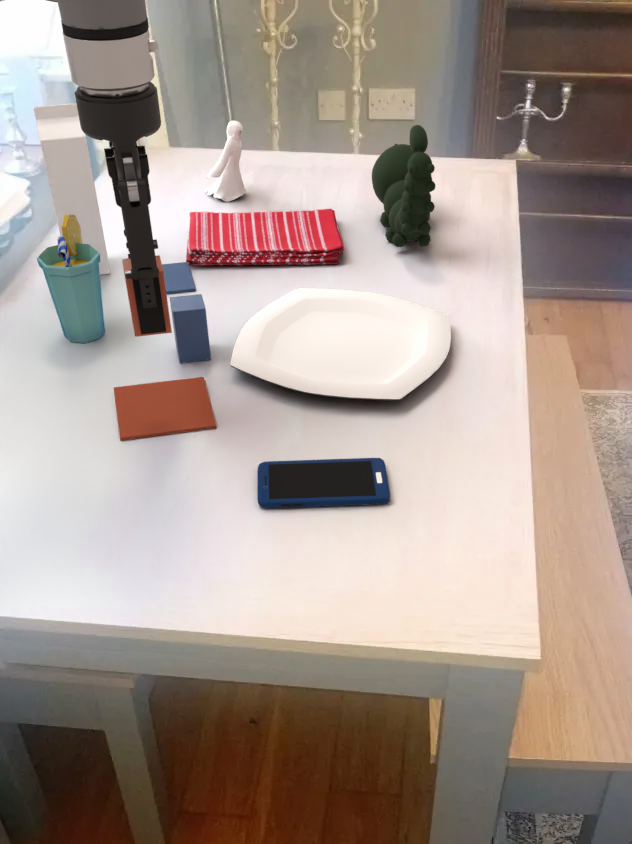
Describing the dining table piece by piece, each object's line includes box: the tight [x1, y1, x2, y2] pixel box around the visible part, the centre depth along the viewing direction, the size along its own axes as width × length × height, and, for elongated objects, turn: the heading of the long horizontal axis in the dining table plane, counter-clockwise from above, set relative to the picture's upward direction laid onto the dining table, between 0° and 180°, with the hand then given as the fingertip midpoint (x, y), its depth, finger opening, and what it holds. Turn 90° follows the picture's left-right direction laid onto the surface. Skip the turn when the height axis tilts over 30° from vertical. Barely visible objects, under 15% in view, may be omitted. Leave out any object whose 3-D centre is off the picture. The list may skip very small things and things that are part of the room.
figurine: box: [203, 120, 247, 202], centre depth 149 cm, size 8×8×12 cm
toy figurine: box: [371, 124, 436, 248], centre depth 137 cm, size 9×19×25 cm
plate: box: [229, 287, 452, 401], centre depth 115 cm, size 27×27×2 cm
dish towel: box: [185, 208, 345, 266], centre depth 139 cm, size 17×24×3 cm
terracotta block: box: [121, 254, 173, 338], centre depth 97 cm, size 4×4×7 cm
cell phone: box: [256, 457, 391, 509], centre depth 96 cm, size 7×14×1 cm, turn 94°
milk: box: [33, 103, 111, 276], centre depth 126 cm, size 6×6×22 cm
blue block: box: [169, 293, 212, 364], centre depth 113 cm, size 4×4×7 cm
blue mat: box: [162, 261, 197, 295], centre depth 130 cm, size 9×9×1 cm
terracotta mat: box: [113, 376, 218, 441], centre depth 106 cm, size 11×11×1 cm
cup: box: [36, 215, 106, 344], centre depth 113 cm, size 14×8×15 cm, turn 12°
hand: (151, 320), depth 99 cm, fingers closed on terracotta block, 4 cm apart
